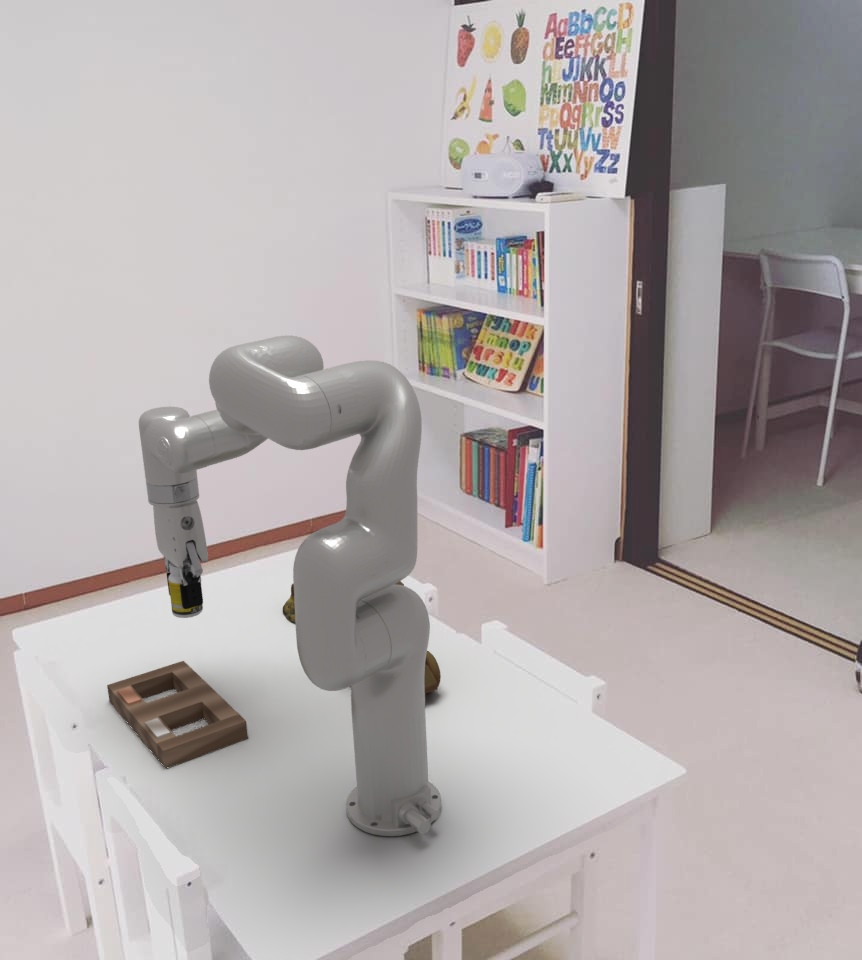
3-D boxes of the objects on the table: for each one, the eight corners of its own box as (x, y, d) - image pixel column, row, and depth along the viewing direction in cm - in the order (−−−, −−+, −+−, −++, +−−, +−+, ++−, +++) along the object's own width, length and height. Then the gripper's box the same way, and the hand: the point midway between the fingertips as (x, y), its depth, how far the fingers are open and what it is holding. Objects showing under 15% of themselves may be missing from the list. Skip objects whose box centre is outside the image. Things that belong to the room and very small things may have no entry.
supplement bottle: (195, 619, 166) (189, 569, 163) (167, 617, 167) (160, 567, 164) (208, 606, 170) (202, 557, 168) (180, 604, 172) (174, 555, 169)
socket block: (248, 738, 162) (246, 718, 161) (165, 768, 155) (162, 748, 154) (185, 676, 181) (183, 658, 180) (109, 701, 174) (106, 682, 173)
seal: (350, 627, 199) (312, 598, 211) (351, 603, 198) (313, 576, 210) (305, 636, 194) (269, 606, 206) (306, 611, 193) (269, 583, 205)
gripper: (218, 499, 157) (230, 612, 163) (176, 471, 171) (188, 576, 177) (169, 510, 154) (183, 626, 159) (129, 480, 167) (144, 588, 173)
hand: (186, 599), depth 168 cm, fingers closed on supplement bottle, 4 cm apart
